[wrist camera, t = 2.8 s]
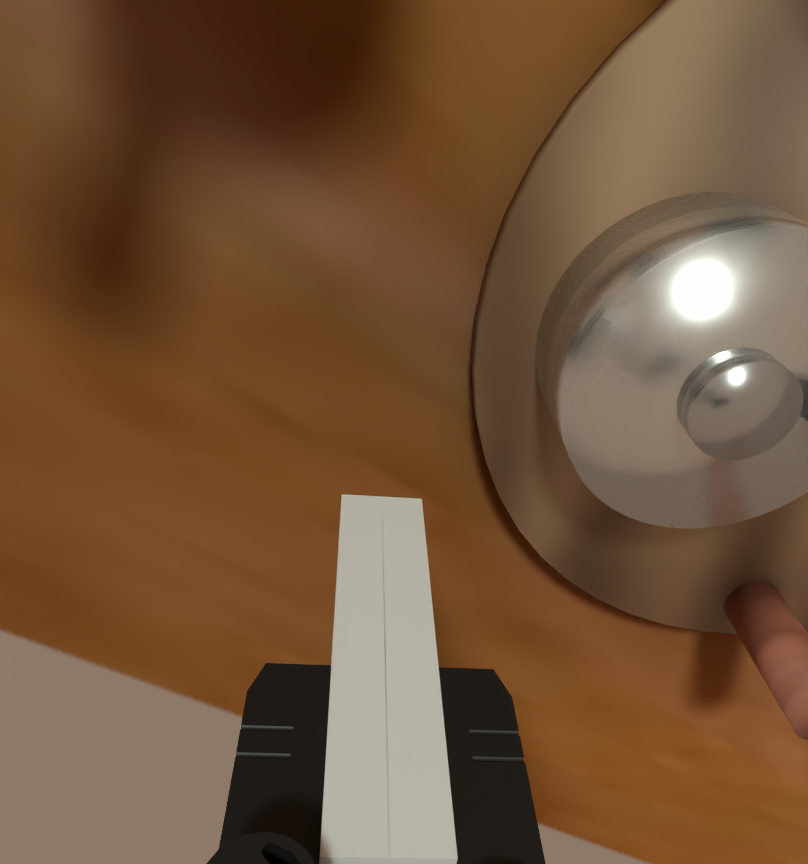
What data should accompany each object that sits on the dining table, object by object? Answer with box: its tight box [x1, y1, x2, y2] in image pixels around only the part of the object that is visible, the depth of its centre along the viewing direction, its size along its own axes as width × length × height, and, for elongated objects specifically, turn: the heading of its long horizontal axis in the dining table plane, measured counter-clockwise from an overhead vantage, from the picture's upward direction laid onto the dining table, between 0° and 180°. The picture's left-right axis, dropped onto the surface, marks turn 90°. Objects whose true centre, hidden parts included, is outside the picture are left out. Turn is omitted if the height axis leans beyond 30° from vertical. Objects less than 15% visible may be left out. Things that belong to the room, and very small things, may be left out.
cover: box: [535, 192, 808, 529], centre depth 22 cm, size 10×10×5 cm
